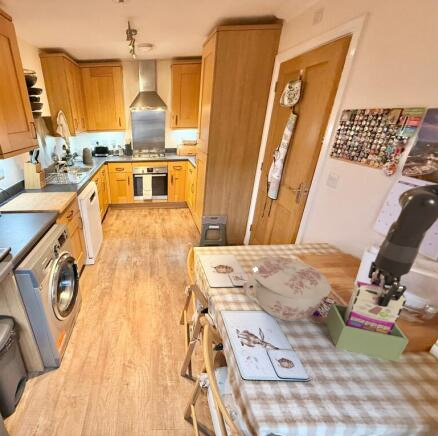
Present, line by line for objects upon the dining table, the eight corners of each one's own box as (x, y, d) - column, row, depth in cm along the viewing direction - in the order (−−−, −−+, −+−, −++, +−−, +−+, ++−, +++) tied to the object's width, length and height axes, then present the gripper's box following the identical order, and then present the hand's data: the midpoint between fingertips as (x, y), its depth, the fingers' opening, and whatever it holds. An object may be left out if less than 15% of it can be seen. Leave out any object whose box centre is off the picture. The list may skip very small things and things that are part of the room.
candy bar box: (383, 328, 79) (402, 290, 73) (388, 339, 75) (408, 300, 69) (342, 316, 84) (356, 279, 78) (344, 326, 81) (359, 288, 74)
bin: (378, 333, 85) (388, 313, 81) (396, 362, 75) (409, 340, 71) (324, 322, 90) (331, 302, 86) (335, 347, 80) (343, 326, 76)
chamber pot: (319, 299, 101) (332, 259, 93) (319, 347, 81) (336, 301, 72) (251, 278, 116) (258, 242, 108) (237, 314, 95) (243, 273, 87)
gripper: (430, 270, 61) (405, 318, 68) (398, 245, 73) (379, 287, 80) (394, 266, 63) (373, 312, 70) (368, 241, 76) (352, 283, 82)
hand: (376, 299), depth 75 cm, fingers closed on candy bar box, 5 cm apart
